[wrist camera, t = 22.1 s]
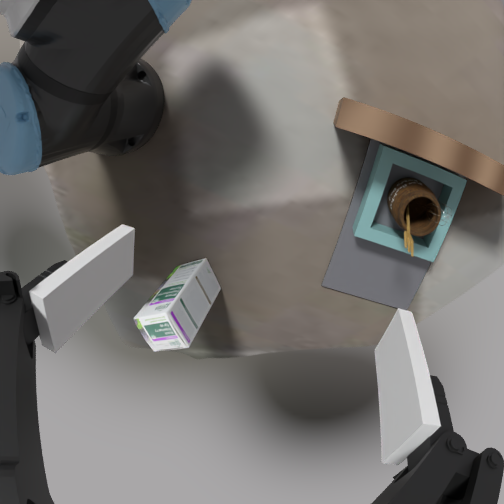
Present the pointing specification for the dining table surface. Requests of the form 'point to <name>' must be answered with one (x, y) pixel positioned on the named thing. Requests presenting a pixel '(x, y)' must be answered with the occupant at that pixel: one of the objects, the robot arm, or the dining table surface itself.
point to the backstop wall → (419, 142)
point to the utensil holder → (414, 209)
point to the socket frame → (373, 194)
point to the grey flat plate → (378, 246)
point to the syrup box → (178, 306)
